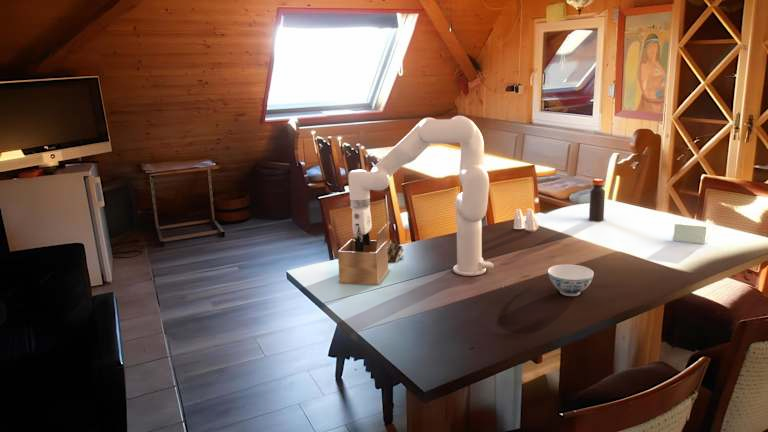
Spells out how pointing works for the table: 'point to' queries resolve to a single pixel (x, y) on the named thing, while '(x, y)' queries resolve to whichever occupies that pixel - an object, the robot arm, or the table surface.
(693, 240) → the l-shaped corner panel
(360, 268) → the carton
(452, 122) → the robot arm
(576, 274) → the chinaware
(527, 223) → the shaker set
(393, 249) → the chocolate cake
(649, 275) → the table surface
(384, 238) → the flap
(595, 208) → the bottle
